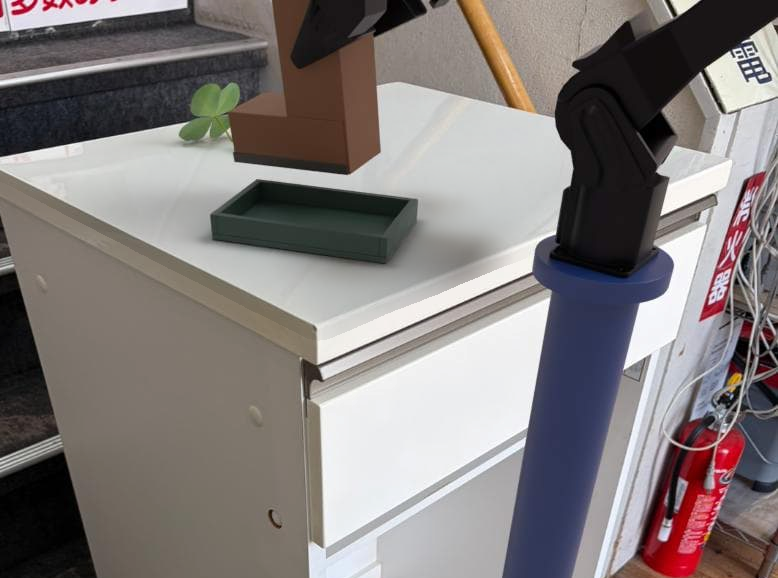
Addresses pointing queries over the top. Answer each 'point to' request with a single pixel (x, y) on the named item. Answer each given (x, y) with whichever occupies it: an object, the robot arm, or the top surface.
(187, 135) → the green leafy piece
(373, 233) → the tray
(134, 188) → the top surface
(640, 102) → the robot arm
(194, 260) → the top surface
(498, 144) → the top surface
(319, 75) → the boot
